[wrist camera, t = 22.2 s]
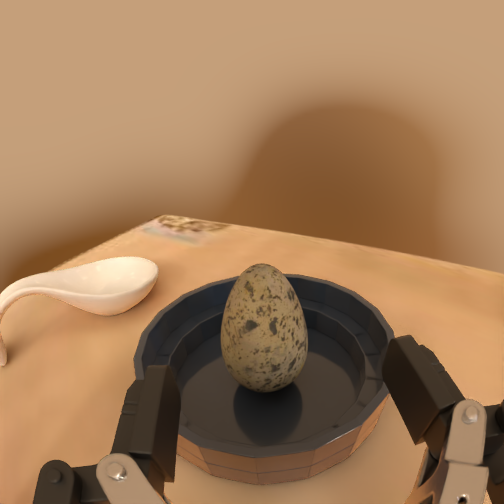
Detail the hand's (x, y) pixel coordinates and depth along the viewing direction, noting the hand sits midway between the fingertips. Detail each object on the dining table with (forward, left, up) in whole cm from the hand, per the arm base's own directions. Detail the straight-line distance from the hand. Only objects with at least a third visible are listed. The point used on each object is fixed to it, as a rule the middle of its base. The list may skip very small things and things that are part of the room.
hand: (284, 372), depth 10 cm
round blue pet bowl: (0, -8, -11) cm, 14 cm away
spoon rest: (+21, -18, -11) cm, 30 cm away
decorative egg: (0, -8, -10) cm, 13 cm away
